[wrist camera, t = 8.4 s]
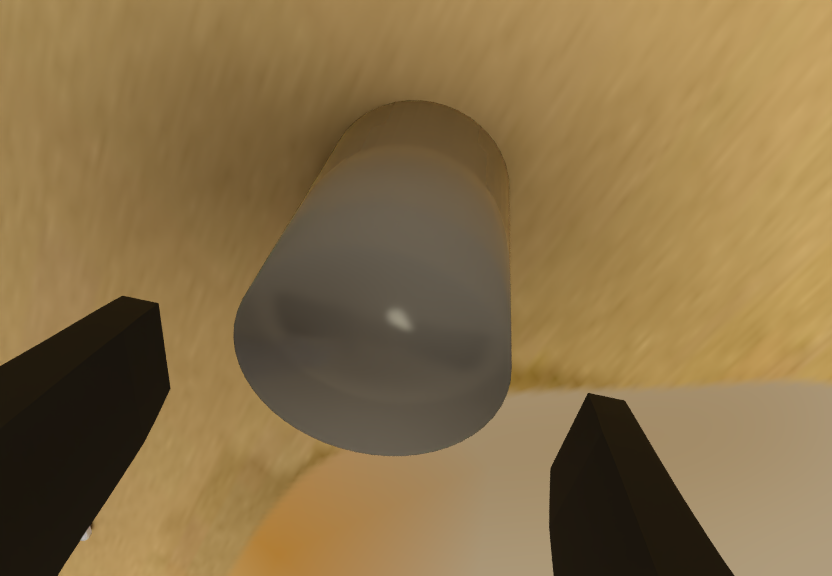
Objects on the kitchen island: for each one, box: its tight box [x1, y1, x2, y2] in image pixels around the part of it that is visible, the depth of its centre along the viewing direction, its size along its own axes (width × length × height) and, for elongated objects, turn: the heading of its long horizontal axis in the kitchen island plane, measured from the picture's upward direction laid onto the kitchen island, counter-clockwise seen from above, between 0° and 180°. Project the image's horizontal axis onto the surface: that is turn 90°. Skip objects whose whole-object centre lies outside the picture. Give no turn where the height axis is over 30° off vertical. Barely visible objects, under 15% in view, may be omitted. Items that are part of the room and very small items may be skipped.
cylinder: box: [234, 101, 512, 456], centre depth 13 cm, size 5×5×7 cm
